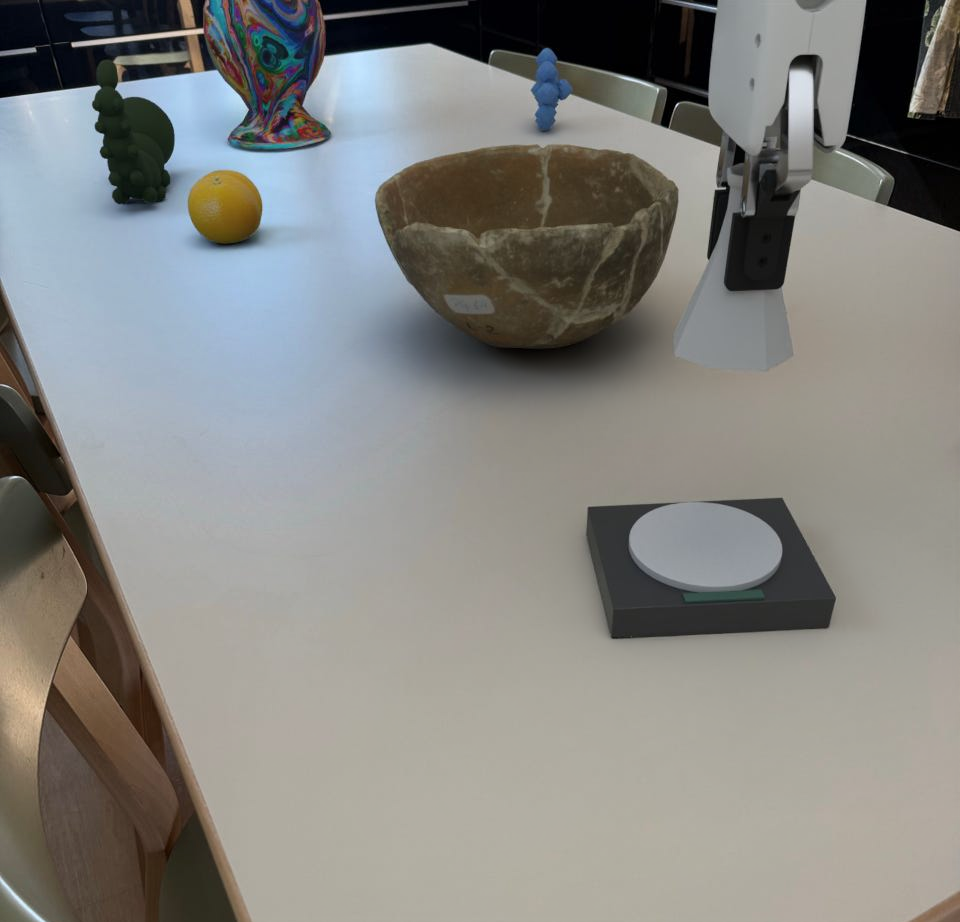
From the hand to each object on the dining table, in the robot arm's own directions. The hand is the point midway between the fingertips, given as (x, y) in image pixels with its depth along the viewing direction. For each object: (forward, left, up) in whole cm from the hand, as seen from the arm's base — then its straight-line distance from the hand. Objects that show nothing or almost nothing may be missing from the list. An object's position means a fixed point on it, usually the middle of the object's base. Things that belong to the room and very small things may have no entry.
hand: (743, 271), depth 57 cm
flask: (0, 0, -5) cm, 5 cm away
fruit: (+42, -74, -21) cm, 88 cm away
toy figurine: (+57, -96, -21) cm, 114 cm away
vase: (+41, -124, -21) cm, 132 cm away
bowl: (+8, -40, -21) cm, 46 cm away
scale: (0, +1, -20) cm, 20 cm away
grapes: (-3, -123, -21) cm, 125 cm away
